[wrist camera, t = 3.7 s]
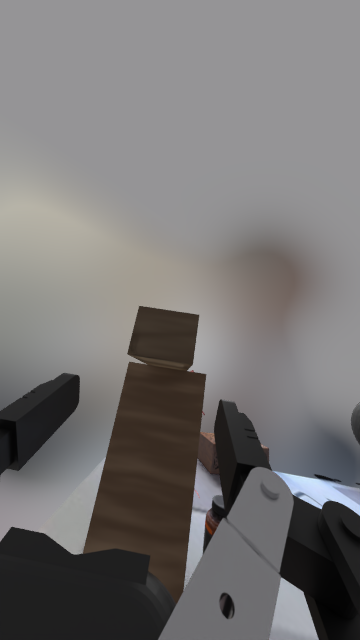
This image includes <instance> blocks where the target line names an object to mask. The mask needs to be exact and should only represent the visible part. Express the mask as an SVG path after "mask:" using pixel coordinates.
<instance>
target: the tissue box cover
mask: <svg viewBox="0 0 360 640" xmlns="http://www.w3.org/2000/svg"><path fill="white" fill-rule="evenodd" d="M261 446H262V448H263V450H264V453H265V455H266V457H267V460H268V462H269V448H267V447H265V446H263V445H261ZM197 458H198V459H199V460H200V461H201V462H202V464H203V465H204V466H205V467H206V468H207V470H208V471H209V472H210V473H211V474H220V473H219V466H218V459H217V452H216V445H215V438H214V434H213V433H202V432H200V437H199V447H198V456H197Z"/></svg>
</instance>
